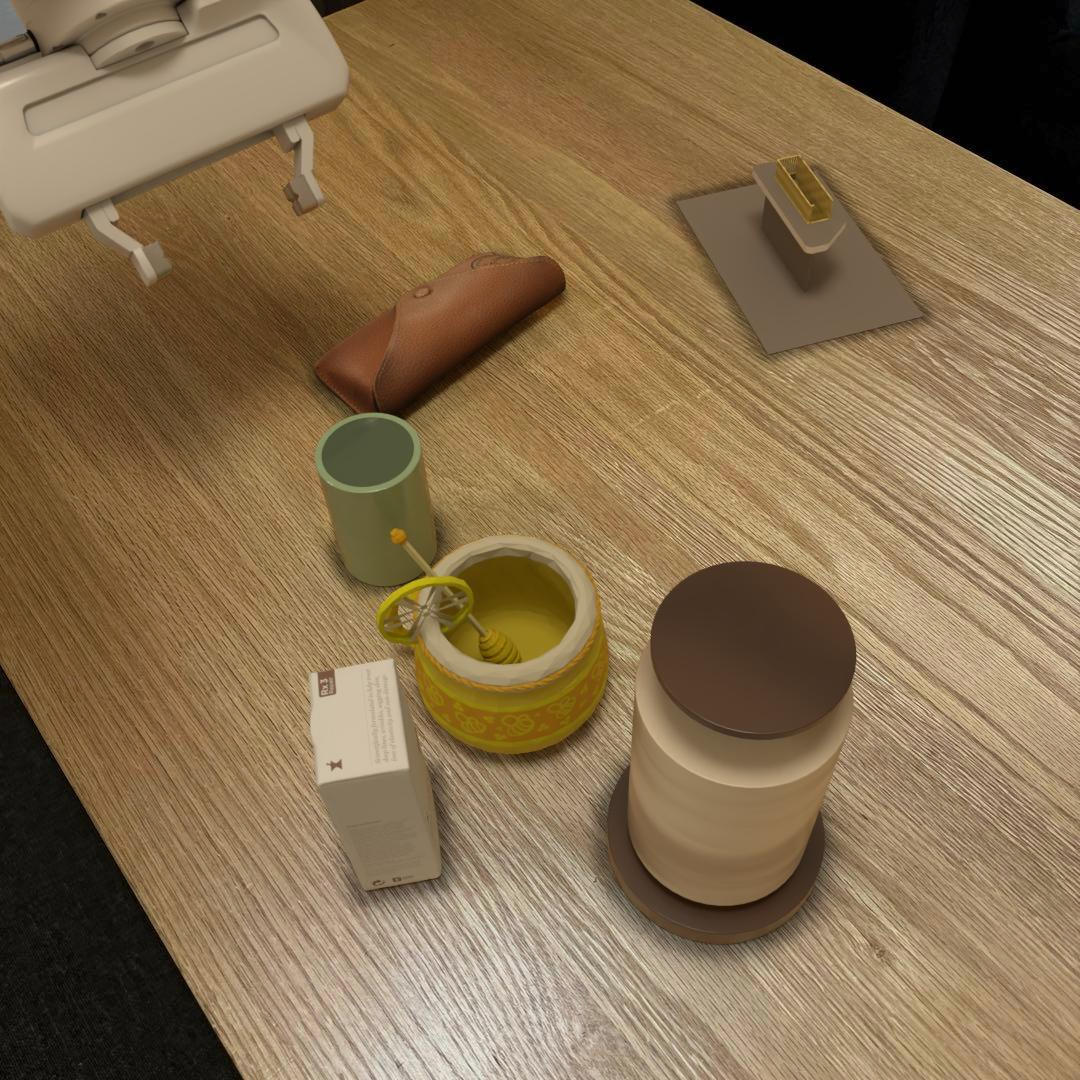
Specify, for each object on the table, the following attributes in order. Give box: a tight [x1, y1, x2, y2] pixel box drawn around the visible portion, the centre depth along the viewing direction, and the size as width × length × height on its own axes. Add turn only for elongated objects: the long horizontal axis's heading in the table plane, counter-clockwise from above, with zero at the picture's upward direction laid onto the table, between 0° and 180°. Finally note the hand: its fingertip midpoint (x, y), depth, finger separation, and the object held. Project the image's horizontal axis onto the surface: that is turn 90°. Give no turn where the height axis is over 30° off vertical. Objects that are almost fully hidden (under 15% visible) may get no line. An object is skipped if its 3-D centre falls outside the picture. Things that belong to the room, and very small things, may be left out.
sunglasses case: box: [312, 251, 567, 417], centre depth 84 cm, size 18×7×7 cm
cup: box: [314, 413, 438, 587], centre depth 70 cm, size 6×6×9 cm
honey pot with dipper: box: [375, 529, 610, 755], centre depth 63 cm, size 13×11×12 cm
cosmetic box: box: [308, 658, 442, 891], centre depth 58 cm, size 6×4×12 cm
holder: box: [606, 560, 858, 945], centre depth 54 cm, size 11×11×19 cm
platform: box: [675, 153, 925, 355], centre depth 86 cm, size 12×18×7 cm, turn 17°
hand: (238, 244), depth 66 cm, fingers open, 8 cm apart
